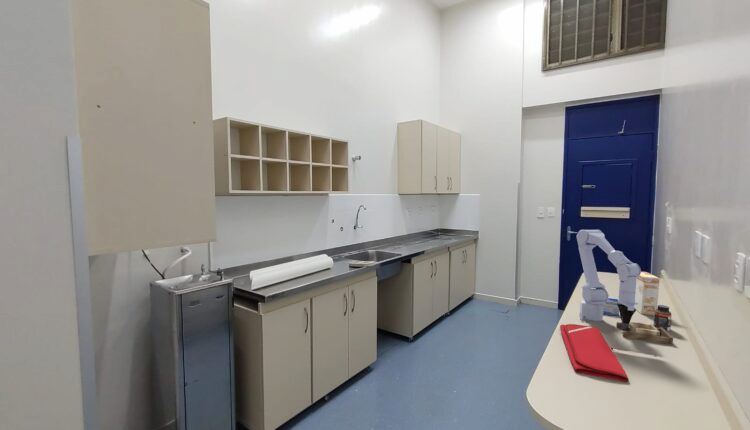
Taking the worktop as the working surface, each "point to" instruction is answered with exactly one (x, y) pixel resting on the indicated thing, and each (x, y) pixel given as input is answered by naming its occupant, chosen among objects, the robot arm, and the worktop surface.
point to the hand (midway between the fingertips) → (624, 321)
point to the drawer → (640, 328)
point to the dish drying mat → (591, 352)
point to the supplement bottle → (662, 317)
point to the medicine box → (611, 307)
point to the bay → (649, 336)
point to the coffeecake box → (646, 293)
